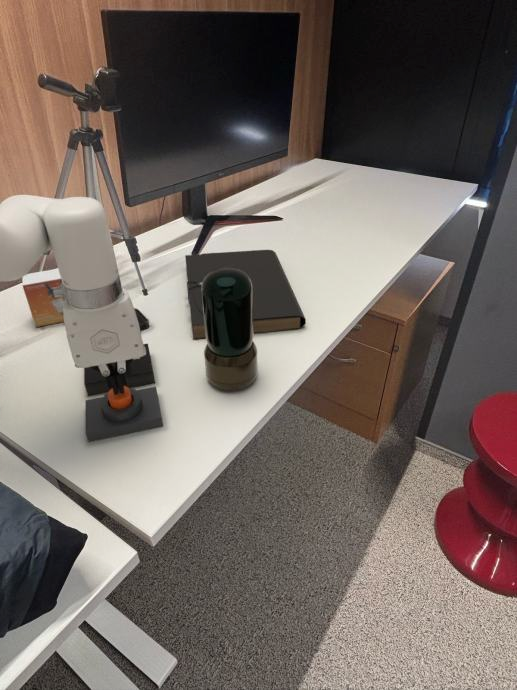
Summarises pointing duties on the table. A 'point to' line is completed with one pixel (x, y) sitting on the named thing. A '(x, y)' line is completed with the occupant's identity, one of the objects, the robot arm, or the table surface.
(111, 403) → the button
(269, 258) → the dark brown book
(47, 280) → the small box
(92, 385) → the dial panel
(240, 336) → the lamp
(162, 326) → the table surface
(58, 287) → the robot arm
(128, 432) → the button block
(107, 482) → the table surface
